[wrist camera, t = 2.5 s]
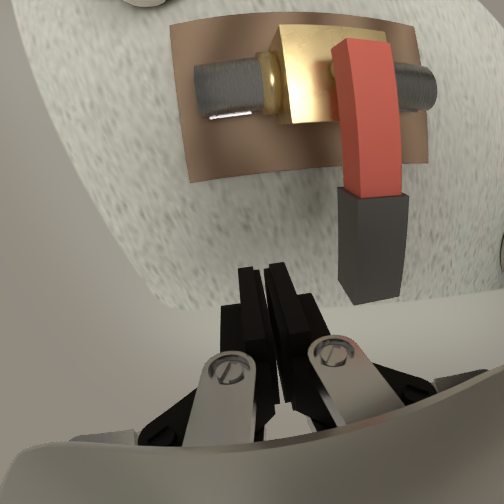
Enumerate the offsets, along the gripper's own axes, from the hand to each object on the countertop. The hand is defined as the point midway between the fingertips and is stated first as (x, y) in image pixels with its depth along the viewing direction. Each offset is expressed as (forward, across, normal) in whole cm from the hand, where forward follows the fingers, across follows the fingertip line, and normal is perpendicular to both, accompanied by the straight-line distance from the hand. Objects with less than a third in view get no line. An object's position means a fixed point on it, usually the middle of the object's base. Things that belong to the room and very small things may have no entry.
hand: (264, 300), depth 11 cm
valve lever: (+8, -7, -3) cm, 11 cm away
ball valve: (+14, -7, -9) cm, 18 cm away
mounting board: (+16, -7, -9) cm, 20 cm away
